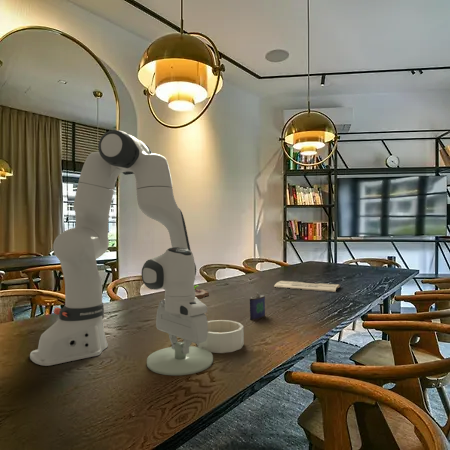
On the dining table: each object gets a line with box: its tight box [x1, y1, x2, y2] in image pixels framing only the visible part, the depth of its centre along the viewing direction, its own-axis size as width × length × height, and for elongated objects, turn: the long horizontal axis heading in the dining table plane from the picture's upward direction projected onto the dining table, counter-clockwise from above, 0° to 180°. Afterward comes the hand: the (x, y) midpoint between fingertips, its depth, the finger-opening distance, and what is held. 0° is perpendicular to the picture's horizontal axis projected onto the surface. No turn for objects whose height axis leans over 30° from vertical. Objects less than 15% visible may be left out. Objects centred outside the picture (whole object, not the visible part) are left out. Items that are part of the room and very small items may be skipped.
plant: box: [194, 284, 210, 299], centre depth 197 cm, size 20×20×11 cm
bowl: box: [196, 319, 245, 354], centre depth 117 cm, size 15×15×6 cm
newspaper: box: [273, 280, 341, 293], centre depth 218 cm, size 37×19×3 cm, turn 64°
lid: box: [146, 341, 214, 376], centre depth 103 cm, size 19×19×5 cm
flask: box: [249, 292, 266, 321], centre depth 150 cm, size 9×3×11 cm, turn 138°
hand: (180, 351), depth 103 cm, fingers closed on lid, 3 cm apart
